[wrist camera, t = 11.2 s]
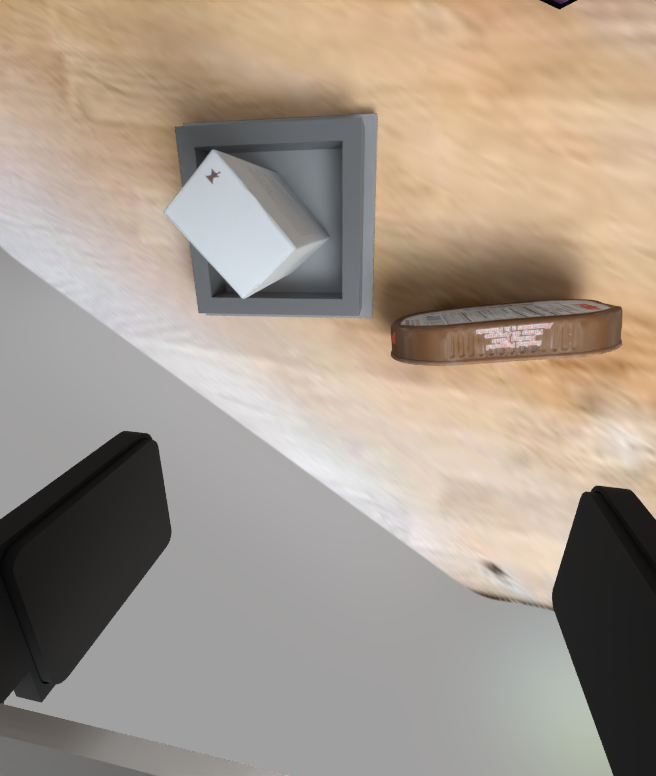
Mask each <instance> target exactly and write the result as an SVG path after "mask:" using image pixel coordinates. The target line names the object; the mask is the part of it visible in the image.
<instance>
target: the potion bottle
mask: <svg viewBox="0 0 656 776" xmlns="http://www.w3.org/2000/svg"><path fill="white" fill-rule="evenodd" d="M540 1H543V2H545V3H547V4H549V5H551V6H553V7H555V8H558V9H561V8H563V7H565V6H567V5H569V4H571V3H573V2H575V1H577V0H540Z"/></svg>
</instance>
